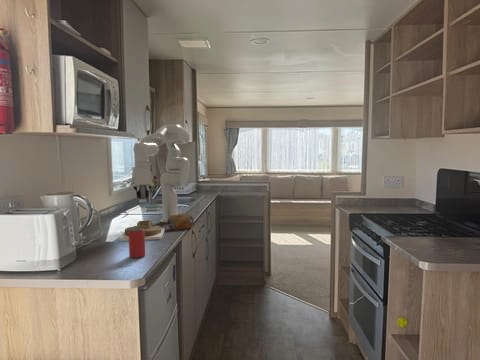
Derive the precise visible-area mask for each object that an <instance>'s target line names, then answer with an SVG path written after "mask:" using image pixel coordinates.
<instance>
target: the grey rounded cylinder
mask: <svg viewBox="0 0 480 360" xmlns="http://www.w3.org/2000/svg"><path fill="white" fill-rule="evenodd" d="M139 191H140V198H138V200H139V201H138V202H139V204H144V203H147V198H146V185H140V186H139Z"/></svg>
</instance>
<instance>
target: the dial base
mask: <svg viewBox="0 0 480 360" xmlns="http://www.w3.org/2000/svg"><path fill="white" fill-rule="evenodd" d="M165 232H166V228H165V227H161V232H160V233H158V234H154V235H149V236H145V241H148V240H154V241H156V240H162V238H163V236H164V233H165ZM124 241H125V242H129V236H128V235H125V231H124V232H123V233H122V234H121V235H120V236H119V237H118V242H124Z"/></svg>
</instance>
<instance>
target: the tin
mask: <svg viewBox="0 0 480 360" xmlns="http://www.w3.org/2000/svg"><path fill="white" fill-rule="evenodd" d="M193 224H194V217H193V216H192V215H191V214H187V213H183V214H178V215H172V216H170V217H169V219H168V223H167V226H168V227H169V228H170V229H171V230H184V229H185V230H186V229H190V228H191V227H192V226H193Z"/></svg>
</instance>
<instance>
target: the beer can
mask: <svg viewBox="0 0 480 360" xmlns="http://www.w3.org/2000/svg"><path fill="white" fill-rule="evenodd" d="M128 251H129V252H128V254H129V255H128V256H129V257H130V258H131V259H141V258H143V257H145V256H146V240H145V233H144V230H143V228H132V229H130V232H129V241H128Z"/></svg>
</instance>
